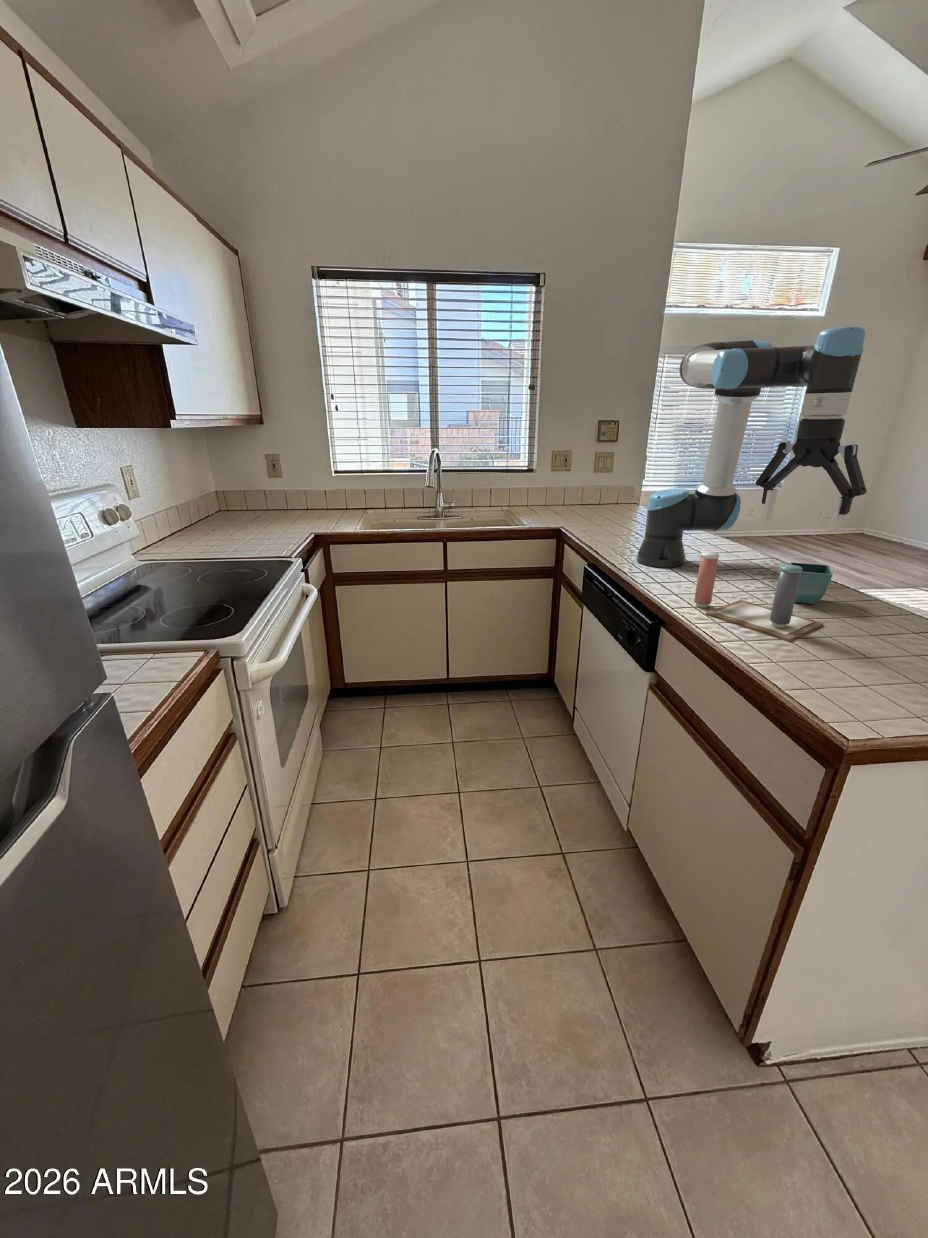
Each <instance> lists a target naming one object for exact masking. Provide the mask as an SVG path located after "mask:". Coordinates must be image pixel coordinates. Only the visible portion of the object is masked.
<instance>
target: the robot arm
mask: <svg viewBox="0 0 928 1238" xmlns="http://www.w3.org/2000/svg"><path fill="white" fill-rule="evenodd" d="M865 337H866V329H864V328H863V327H861V326H844V327H835V328H834V327H833V328H827V329H823V330H821V331H820V332H819V333H818V335H817V338H816V341H815V343H814V345H801V346H800V345H798V346H780V347H779V346H778V347H776V346H773V345H772V344H771V342H769V341H767V340H760V339H759V340H758V339H757V340H756V339H749V340H748V339H747V340H733V341H715V342H713V341H712V342H708V343H703V344H699V345H697V346H695V347H692V348H691V349H690V350H688V351H687V353H686V354H685V355H684V356H683V358H682V359H681V361H680V364H679V370H678V372H679V376H680V378H681V380H682V382H683V383H684V384H686V385H687V386H689V387H692V388H696V389H703V390H705V389H706V390H708V389H710V390H712V389H713V390H714V389H715V390H714V396H715V398H716V399H717V400H718V401H717V402H718V403H717V409H716V412H715V419H714V424H713V426H712V427H713V429H712V432H711V433H712V434H711V438H710V442H709V448H708V453H707V458H706V464H705V469H704V473H703V477H702V481H701V482H700V483H699V484H698V485H697V486H696V487H695V491H694V493H690V492H689V490H688V489H686V488H668V489H662V490H658V491H655V492H653V493H652V494H650V496H649V498H648V503H647V507H646V509H647V510H646V520H645V521H646V522H645V530H644V531H645V532H644V537H643V540H642V543H641V545H640V547H639V550H638V552H637V553H636V554H637V555H636V561H637V563H639V564H641V565H643V566H644V565H645V566H647V567H653V568H679V567H681V566H684V565H685V563H686V553H685V548H684V542H683V536H684V532H687V531H688V532H689V531H691V532H692V531H694V532H695V531H701V532H705V531H706V532H717V531H727V530H729V529H731V528H733V526H734V524H735V523H736V522H737V519H738V517H739V516H740V511H741V504H742V503H741V502H742V500H741V496H740V494H738V493H737V491H738V489H737V488H736V487H735V486H734V480H735V477H736V476H735V475H736V472H737V467H738V463H739V458H740V455H741V449H742V445H743V441H744V437H745V433H746V429H747V424H748V420H749V416H750V412H751V411H750V410H751V407H752V403H753V402H754V401H755V400H756V399H757V398H758V397H760V395H761V391H762V389H764V388H780V387H781V388H783V387H784V388H787V387H793V388H797V387H798V388H799V387H801V388H803V387H806V390H805V396H804V400H803V405H802V411H801V413H800V414H801V416H802V417H803V418H802V419H800V420H799V421H798V422H799V423H798V429H797V433H796V440H795V443H791V442H790V441H783V442H779V444H778V445H777V449H776V453H775V454H774V456H773V457H772V458H771V460H770V461H769V462H768V464H767V465H766V467H765V469H763V471H762V473H761V474H760V476H758V478H757V480H756V481H755V485H756V486H757V487H758V486H760V487H761V488H763V492H762V498H761V505H764V507H763V513H762V517H761V521H769V520H772V519H773V516H774V510H775V506H776V500H777V496H778V490H779V489H778V488H776V486H777V485H779V484H780V483H781V482H783V480H784V479H785V478H787V477H788V476H789V475H790V474H791V473H792V472H794V471H795V470H796V469H797V468H798V467H800V466H801V467H812V468H821V467H822V469H823V470H824V471H826V473H827V474H828V475H829V477H830V479H831V481H832V483H833V484H834V485H835V487H836V489H837V490H838V492H839V494H840V495H841V496H840V497H836V502H835V504H834V508H833V513H832V516H831V517H832V518H831V521H830V525H829V529H828V531H829V532H836V531H839V530H840V529H841V525H842V520H843V516H845V515H848V514H849V512H850V510H851V507H852V504H853V499H854V498H856V497H860V496H863V495H865V494H867V487H866V484H865V480H864V477H863V473H862V470H861V467H860V462H859V459H858V451H859V446H858V444H856V443H853V444H847V445H841V439H842V435H843V432H844V427H845V424H846V420H845V418H843V416H846V415H848V411H849V406H850V402H851V398H852V392H853V388H854V386H855V382H856V379H857V378H856V376H857V373H858V370H859V366H860V362H861V358H862V353H863V352H864V341H865ZM791 451H792V452H793V454H794V457H793V458H791V459H790V460H789V461H788V462H787V463H786V465H785V466H783V467H782V468H781V469H780V470H779V471H778V472H776V471H777V469H779V467H780V465H781V464H782V463H783V461H784V459H785V458H786V457H787V455H788V454H790V452H791ZM839 453H840V455H841V457H843V460H844V461H843V462H844V465H845V470H846V472H847V475H848V479H849V481H848V479H847V478H846V476H845V474H844V473H843V471H842V470H841V468H840V466H839V463H838V461H837V459H836V458H835V457H836V456H837V455H838V454H839ZM775 472H776V474H775ZM774 474H775V475H774ZM773 475H774V476H773Z"/></svg>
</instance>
